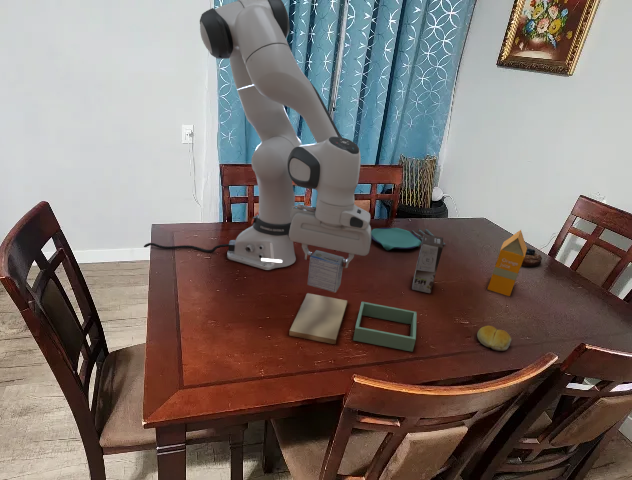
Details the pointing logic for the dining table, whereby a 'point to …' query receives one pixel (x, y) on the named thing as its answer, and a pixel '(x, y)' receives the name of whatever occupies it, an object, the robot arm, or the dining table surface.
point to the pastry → (531, 258)
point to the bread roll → (494, 338)
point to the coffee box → (427, 263)
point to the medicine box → (325, 271)
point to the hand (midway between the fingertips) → (326, 263)
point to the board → (319, 318)
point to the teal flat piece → (397, 238)
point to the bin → (385, 337)
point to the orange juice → (508, 264)
